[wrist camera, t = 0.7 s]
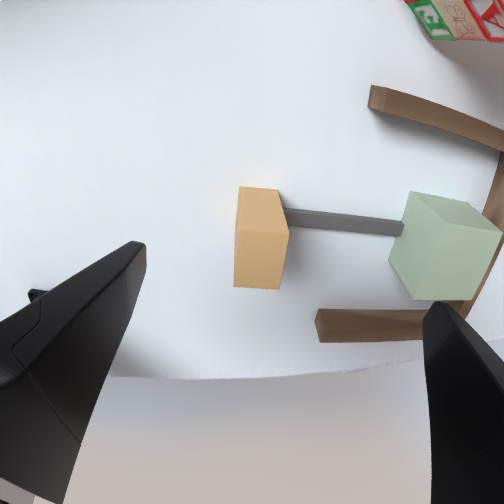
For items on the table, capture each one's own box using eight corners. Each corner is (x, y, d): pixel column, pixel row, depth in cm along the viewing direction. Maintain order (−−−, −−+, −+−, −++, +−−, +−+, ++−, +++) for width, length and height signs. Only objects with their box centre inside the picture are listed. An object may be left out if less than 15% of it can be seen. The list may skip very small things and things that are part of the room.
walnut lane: (444, 320, 29) (454, 337, 27) (314, 321, 28) (319, 342, 25) (516, 138, 19) (535, 147, 16) (371, 84, 17) (387, 87, 15)
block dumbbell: (443, 264, 25) (477, 308, 20) (233, 248, 23) (232, 303, 18) (467, 202, 22) (511, 239, 17) (241, 168, 20) (241, 206, 15)
